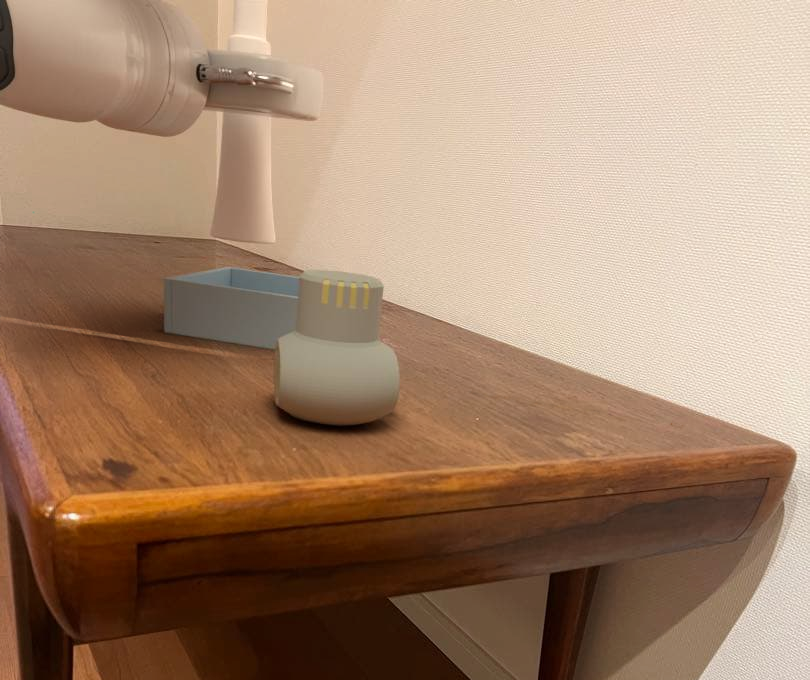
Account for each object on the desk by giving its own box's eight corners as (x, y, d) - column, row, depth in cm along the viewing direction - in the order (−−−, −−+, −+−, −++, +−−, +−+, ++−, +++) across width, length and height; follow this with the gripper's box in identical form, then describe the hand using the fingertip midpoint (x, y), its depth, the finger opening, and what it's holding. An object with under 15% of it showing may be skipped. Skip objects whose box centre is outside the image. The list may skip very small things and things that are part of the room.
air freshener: (399, 441, 54) (417, 293, 50) (279, 436, 52) (287, 280, 48) (373, 399, 64) (386, 272, 60) (271, 393, 62) (277, 261, 58)
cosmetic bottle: (223, 241, 69) (230, -60, 60) (201, 233, 74) (204, -48, 65) (286, 245, 73) (301, -39, 64) (260, 238, 77) (271, -29, 68)
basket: (164, 337, 76) (163, 278, 74) (226, 317, 90) (227, 266, 88) (317, 361, 74) (321, 301, 72) (356, 337, 88) (361, 285, 86)
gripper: (270, 24, 53) (362, 63, 64) (41, 10, 59) (163, 48, 71) (266, 129, 55) (355, 148, 67) (47, 104, 62) (163, 125, 74)
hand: (254, 96), depth 69 cm, fingers closed on cosmetic bottle, 4 cm apart
